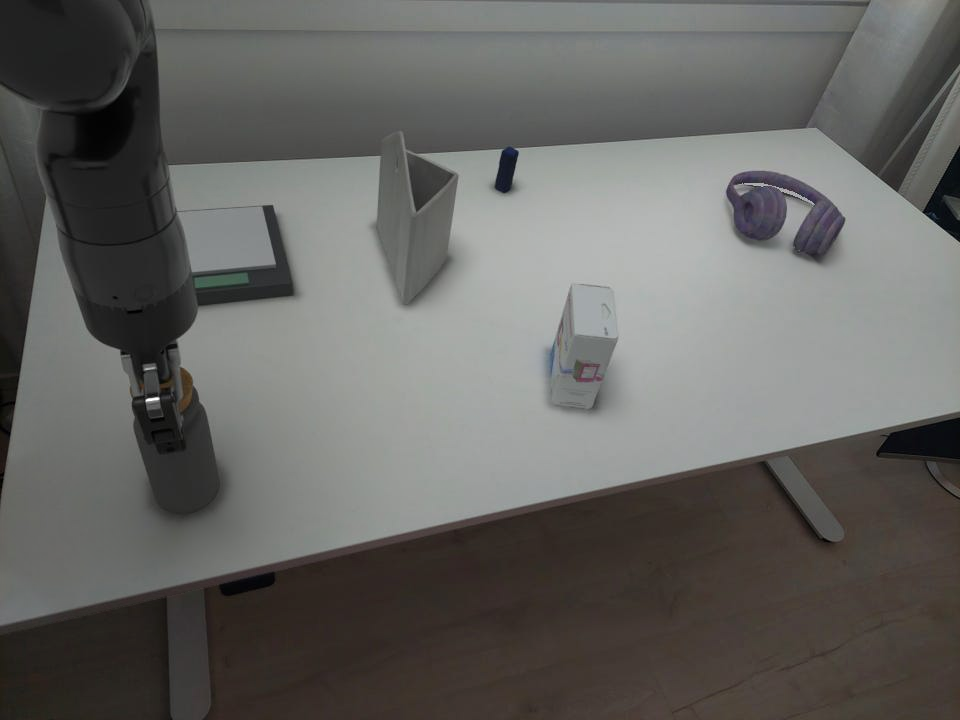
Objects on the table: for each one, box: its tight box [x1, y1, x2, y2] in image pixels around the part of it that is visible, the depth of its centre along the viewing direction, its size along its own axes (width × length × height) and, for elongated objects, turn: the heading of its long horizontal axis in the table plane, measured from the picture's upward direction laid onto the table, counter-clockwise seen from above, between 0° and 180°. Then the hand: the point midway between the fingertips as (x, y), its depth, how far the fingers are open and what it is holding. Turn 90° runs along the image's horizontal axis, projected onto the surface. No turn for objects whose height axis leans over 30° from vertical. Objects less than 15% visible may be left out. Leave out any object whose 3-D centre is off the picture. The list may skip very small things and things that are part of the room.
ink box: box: [549, 282, 619, 410], centre depth 81 cm, size 9×5×12 cm, turn 178°
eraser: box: [494, 146, 520, 194], centre depth 109 cm, size 2×2×7 cm
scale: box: [177, 204, 294, 307], centre depth 89 cm, size 16×16×3 cm
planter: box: [375, 130, 460, 306], centre depth 89 cm, size 16×8×19 cm, turn 18°
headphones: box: [725, 170, 846, 256], centre depth 115 cm, size 18×8×20 cm
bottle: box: [129, 365, 220, 515], centre depth 63 cm, size 6×6×15 cm
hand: (170, 419), depth 61 cm, fingers closed on bottle, 5 cm apart
